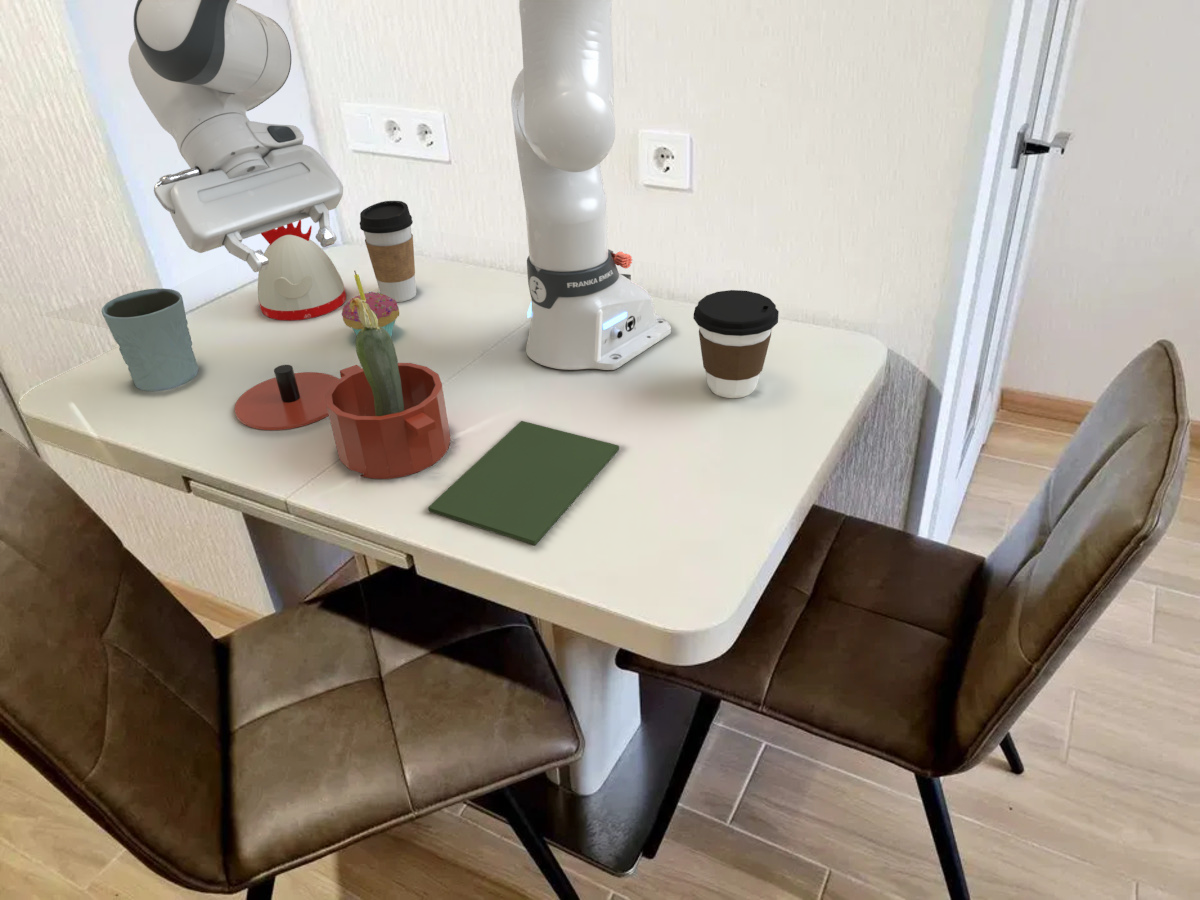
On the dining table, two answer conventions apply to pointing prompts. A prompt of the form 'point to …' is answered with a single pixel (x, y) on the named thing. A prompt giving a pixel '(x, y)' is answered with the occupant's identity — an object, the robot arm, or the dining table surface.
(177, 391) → the dining table surface
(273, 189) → the robot arm
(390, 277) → the coffee cup
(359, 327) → the cupcake
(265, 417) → the pot lid
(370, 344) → the vegetable
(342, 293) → the kitchen timer
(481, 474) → the mat
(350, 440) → the pot
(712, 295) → the coffee cup
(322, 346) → the dining table surface
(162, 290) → the blue-grey cup
